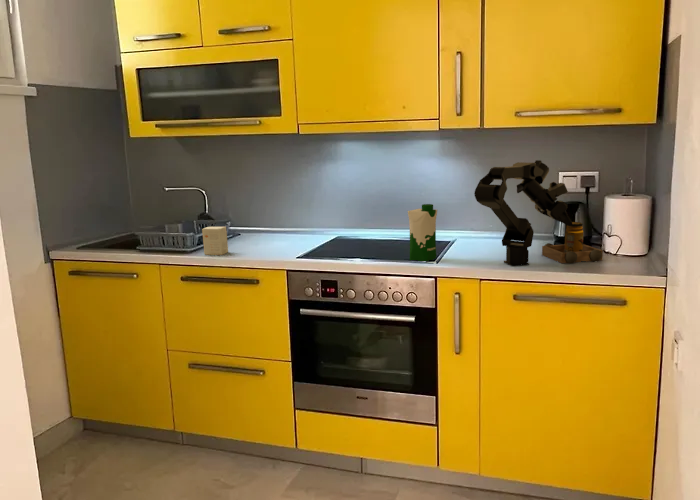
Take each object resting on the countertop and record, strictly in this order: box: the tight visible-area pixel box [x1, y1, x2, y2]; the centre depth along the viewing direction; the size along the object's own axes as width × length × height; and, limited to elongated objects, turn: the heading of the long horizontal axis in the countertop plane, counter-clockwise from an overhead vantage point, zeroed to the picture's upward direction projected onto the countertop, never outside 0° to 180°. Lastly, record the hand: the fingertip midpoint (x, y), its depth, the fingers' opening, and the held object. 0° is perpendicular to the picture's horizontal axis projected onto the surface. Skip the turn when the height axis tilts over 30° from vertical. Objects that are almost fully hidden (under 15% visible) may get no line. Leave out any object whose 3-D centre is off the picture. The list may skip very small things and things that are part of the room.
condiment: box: [564, 221, 584, 253], centre depth 217 cm, size 7×8×12 cm
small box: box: [201, 226, 229, 256], centre depth 247 cm, size 8×6×10 cm
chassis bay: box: [541, 242, 604, 264], centre depth 218 cm, size 15×16×4 cm
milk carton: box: [407, 203, 438, 262], centre depth 222 cm, size 9×9×20 cm
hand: (566, 223), depth 216 cm, fingers open, 9 cm apart
